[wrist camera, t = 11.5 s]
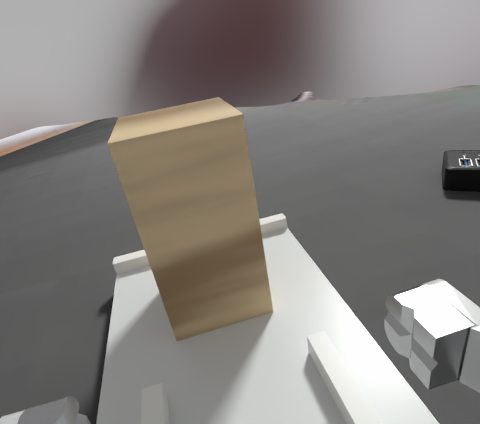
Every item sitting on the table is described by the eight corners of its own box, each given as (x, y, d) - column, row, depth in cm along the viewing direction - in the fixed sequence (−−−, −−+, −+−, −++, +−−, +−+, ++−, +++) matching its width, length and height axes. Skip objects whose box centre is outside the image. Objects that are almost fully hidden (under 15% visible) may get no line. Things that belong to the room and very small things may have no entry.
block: (273, 311, 17) (242, 114, 13) (176, 341, 17) (107, 143, 12) (248, 258, 22) (218, 97, 17) (170, 280, 21) (118, 118, 16)
